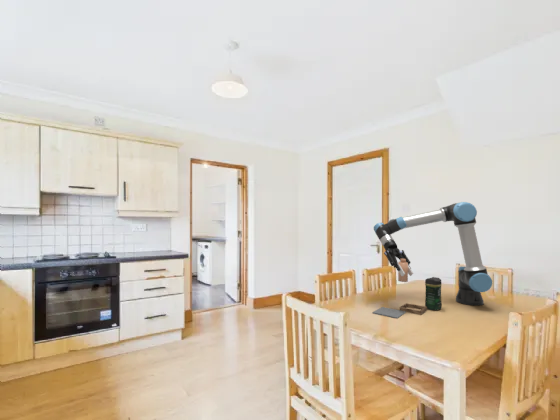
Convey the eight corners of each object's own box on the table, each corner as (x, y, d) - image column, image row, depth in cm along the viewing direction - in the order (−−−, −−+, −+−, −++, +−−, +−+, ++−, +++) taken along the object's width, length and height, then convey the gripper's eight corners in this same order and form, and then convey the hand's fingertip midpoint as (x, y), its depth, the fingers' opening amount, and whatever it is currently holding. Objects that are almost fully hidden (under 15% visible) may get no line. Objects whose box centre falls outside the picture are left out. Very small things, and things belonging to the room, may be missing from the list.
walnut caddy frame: (427, 310, 178) (427, 306, 178) (421, 315, 169) (421, 311, 169) (406, 306, 186) (406, 303, 186) (399, 310, 177) (399, 307, 177)
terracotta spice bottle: (409, 281, 178) (409, 258, 178) (406, 282, 174) (406, 259, 174) (400, 279, 181) (400, 257, 181) (396, 281, 177) (397, 258, 177)
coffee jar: (437, 311, 175) (436, 279, 176) (423, 308, 181) (422, 277, 182) (443, 308, 182) (443, 277, 182) (430, 305, 188) (429, 275, 188)
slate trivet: (405, 312, 174) (405, 311, 174) (397, 318, 163) (397, 317, 163) (382, 307, 183) (382, 306, 183) (372, 313, 172) (372, 312, 172)
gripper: (397, 247, 195) (416, 277, 179) (373, 247, 189) (391, 279, 173) (403, 239, 190) (423, 270, 174) (379, 239, 185) (397, 271, 169)
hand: (407, 274), depth 174 cm, fingers closed on terracotta spice bottle, 5 cm apart
